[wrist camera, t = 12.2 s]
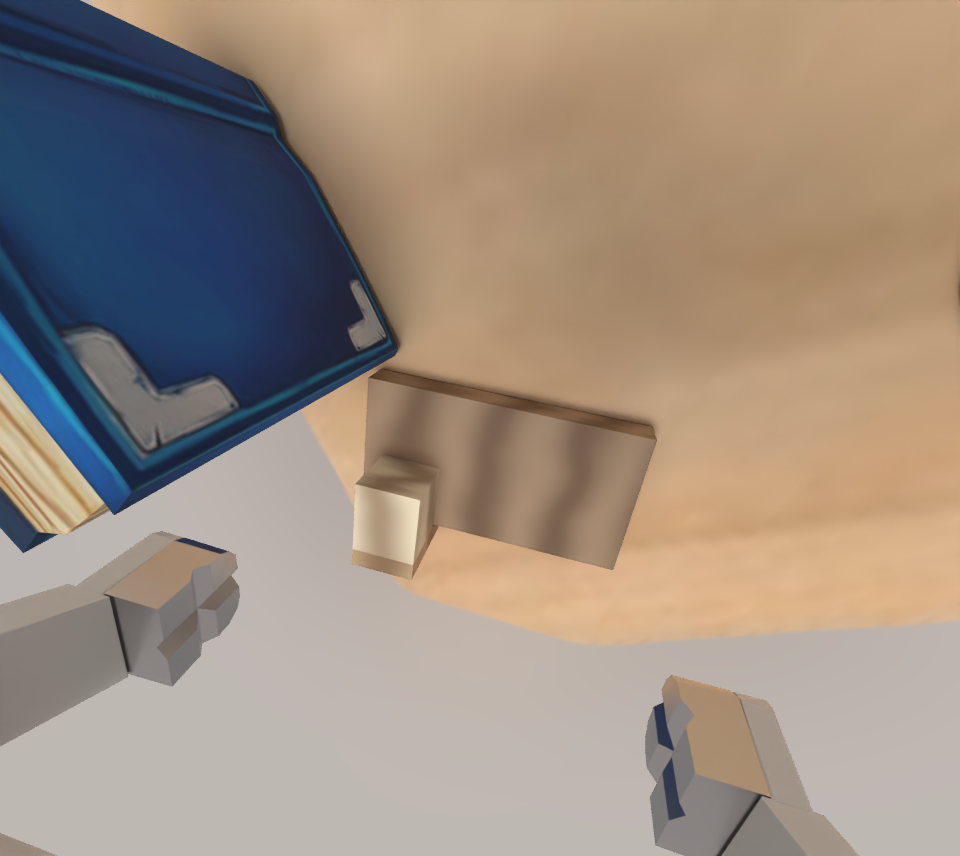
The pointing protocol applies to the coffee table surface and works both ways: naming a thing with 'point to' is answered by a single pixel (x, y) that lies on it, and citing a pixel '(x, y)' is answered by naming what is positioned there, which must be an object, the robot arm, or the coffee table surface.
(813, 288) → the coffee table surface
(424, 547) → the block
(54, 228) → the book
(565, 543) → the board
